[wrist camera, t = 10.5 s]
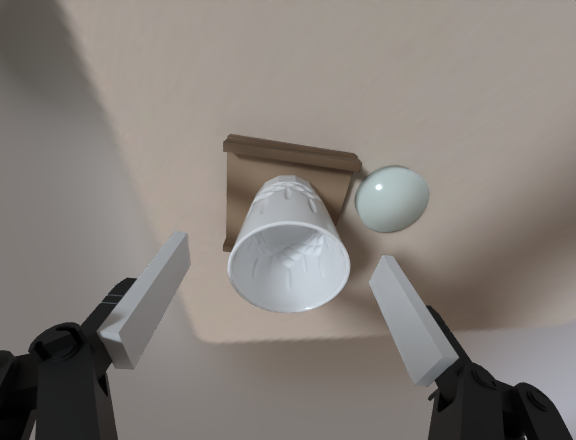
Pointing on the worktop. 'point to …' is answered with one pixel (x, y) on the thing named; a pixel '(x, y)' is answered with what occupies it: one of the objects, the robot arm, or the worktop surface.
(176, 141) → the worktop surface
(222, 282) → the worktop surface
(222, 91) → the worktop surface
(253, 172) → the stand
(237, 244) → the white cup
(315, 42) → the worktop surface
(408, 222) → the pale mint domed disc
